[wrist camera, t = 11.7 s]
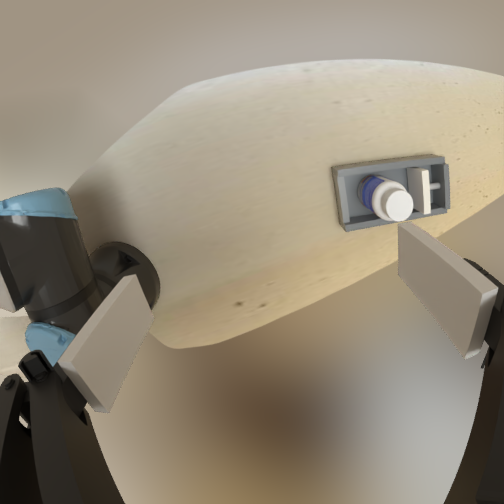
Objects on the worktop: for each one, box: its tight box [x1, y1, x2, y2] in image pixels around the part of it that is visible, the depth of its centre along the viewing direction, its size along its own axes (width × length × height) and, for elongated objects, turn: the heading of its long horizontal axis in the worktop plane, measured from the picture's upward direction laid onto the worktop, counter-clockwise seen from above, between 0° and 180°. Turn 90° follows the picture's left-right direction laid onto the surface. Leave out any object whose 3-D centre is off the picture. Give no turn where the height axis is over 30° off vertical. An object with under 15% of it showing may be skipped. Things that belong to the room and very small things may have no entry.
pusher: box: [407, 166, 440, 215], centre depth 36 cm, size 5×6×5 cm
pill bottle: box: [358, 174, 413, 222], centre depth 36 cm, size 5×5×10 cm
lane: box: [331, 154, 450, 232], centre depth 38 cm, size 18×9×5 cm, turn 103°
